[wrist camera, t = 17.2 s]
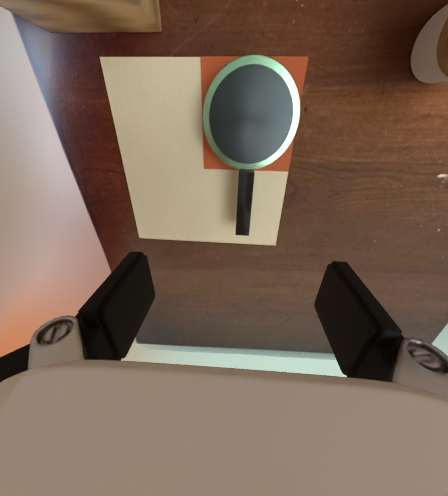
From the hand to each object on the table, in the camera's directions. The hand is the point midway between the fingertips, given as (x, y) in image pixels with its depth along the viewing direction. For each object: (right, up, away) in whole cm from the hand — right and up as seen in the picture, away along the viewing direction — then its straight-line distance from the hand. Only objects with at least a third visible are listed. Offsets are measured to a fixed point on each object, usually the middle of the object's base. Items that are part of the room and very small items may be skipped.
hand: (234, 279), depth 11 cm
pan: (+2, +13, +15) cm, 20 cm away
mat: (-3, +12, +16) cm, 21 cm away
